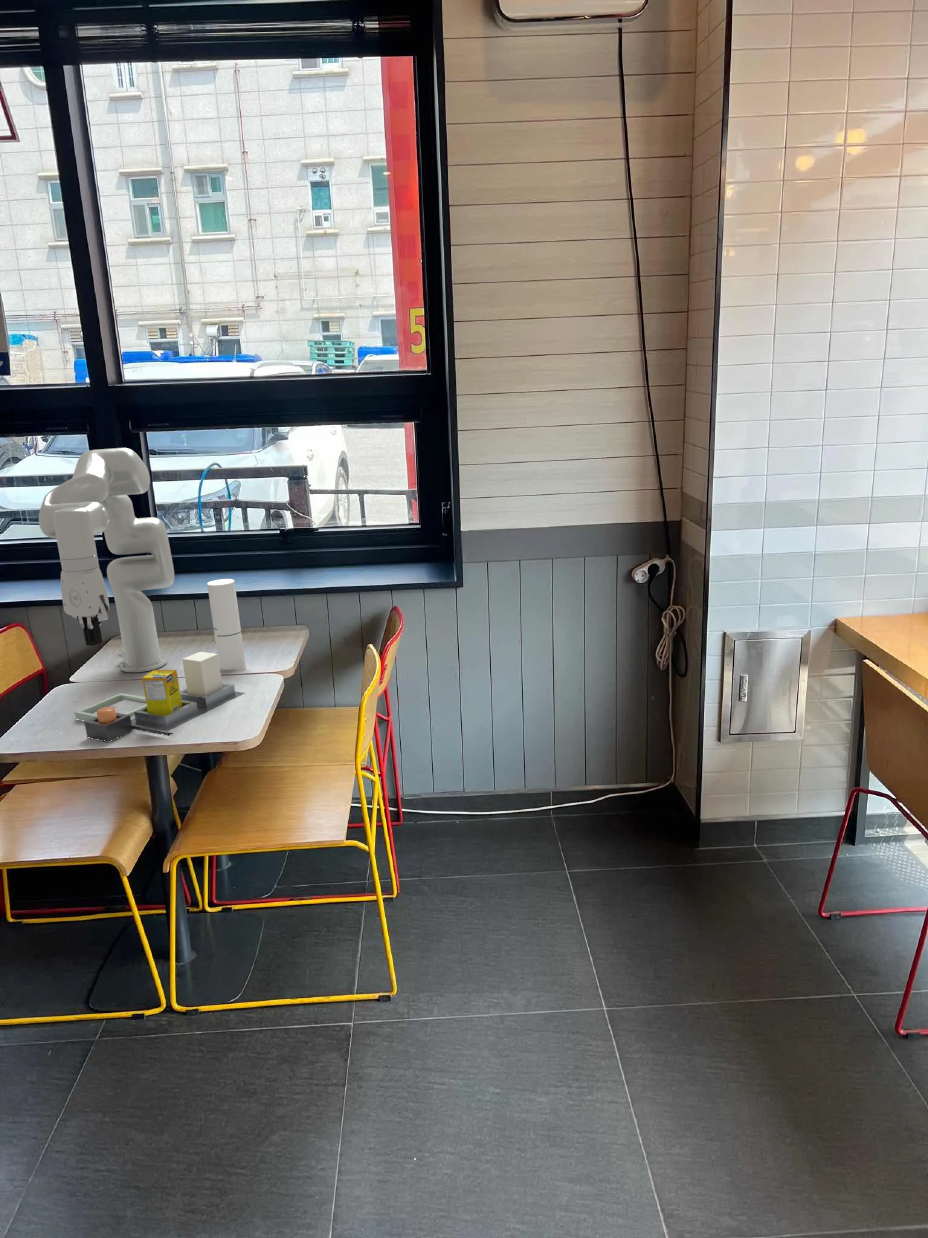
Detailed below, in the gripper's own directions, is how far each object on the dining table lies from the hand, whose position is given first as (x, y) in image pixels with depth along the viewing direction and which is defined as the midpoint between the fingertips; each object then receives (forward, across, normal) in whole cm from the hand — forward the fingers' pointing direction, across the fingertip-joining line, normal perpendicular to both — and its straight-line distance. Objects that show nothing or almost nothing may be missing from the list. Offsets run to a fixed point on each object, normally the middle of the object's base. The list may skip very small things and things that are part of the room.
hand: (94, 643), depth 201 cm
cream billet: (+21, +7, +24) cm, 32 cm away
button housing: (+22, 0, 0) cm, 22 cm away
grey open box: (+22, +7, +17) cm, 29 cm away
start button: (+20, 0, 0) cm, 20 cm away
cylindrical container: (+22, -5, +46) cm, 52 cm away
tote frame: (+22, -9, +10) cm, 26 cm away
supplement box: (+21, +7, +11) cm, 25 cm away
